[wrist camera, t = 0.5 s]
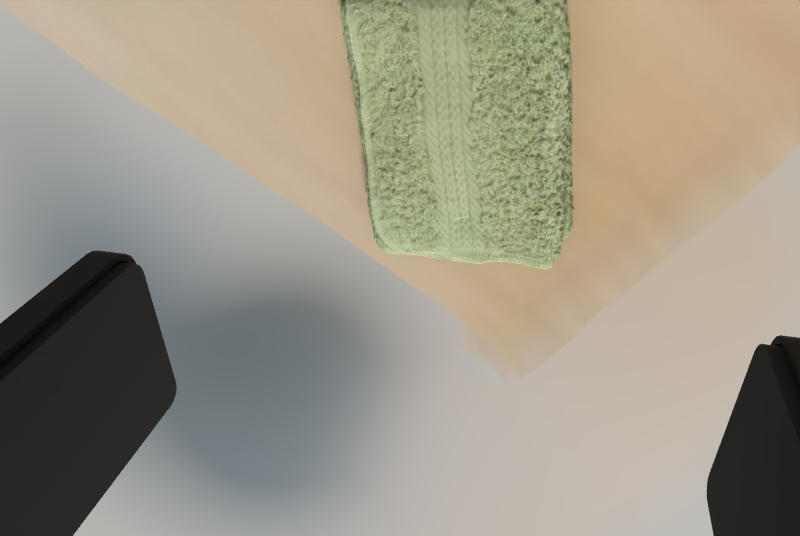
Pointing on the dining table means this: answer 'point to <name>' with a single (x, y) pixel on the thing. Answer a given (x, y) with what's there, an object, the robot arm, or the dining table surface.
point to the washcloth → (465, 126)
